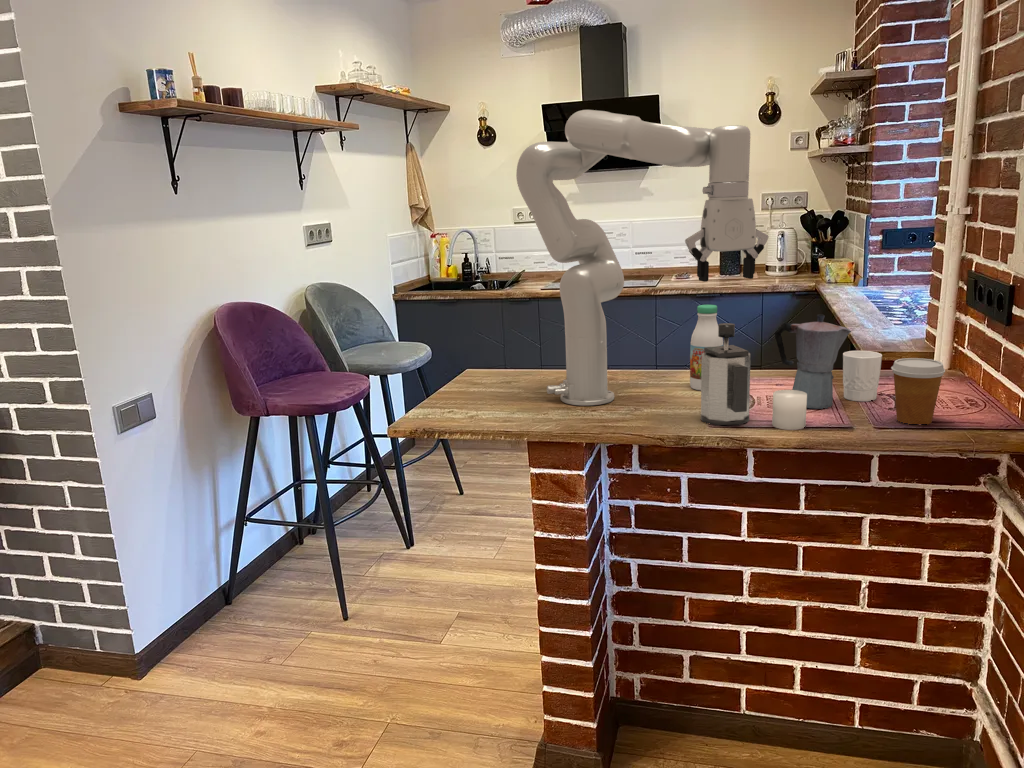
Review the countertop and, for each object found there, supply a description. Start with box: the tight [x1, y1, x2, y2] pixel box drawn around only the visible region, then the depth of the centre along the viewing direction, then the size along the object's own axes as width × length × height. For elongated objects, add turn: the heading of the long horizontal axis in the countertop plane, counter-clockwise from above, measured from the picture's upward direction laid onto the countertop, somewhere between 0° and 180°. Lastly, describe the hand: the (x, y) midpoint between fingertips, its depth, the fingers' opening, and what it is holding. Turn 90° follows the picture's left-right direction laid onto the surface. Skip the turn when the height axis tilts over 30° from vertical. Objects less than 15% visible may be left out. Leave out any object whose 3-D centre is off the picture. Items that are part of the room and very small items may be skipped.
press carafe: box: [700, 344, 752, 426], centre depth 164 cm, size 10×12×15 cm
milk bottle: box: [689, 304, 724, 391], centre depth 191 cm, size 8×8×20 cm
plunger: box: [717, 322, 736, 350], centre depth 164 cm, size 7×7×14 cm
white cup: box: [842, 350, 883, 402], centre depth 177 cm, size 8×8×10 cm
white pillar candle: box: [771, 389, 807, 431], centre depth 160 cm, size 6×6×7 cm
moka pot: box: [774, 313, 852, 410], centre depth 172 cm, size 10×15×20 cm, turn 78°
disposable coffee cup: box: [890, 357, 946, 425], centre depth 158 cm, size 10×10×12 cm
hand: (725, 279), depth 160 cm, fingers open, 9 cm apart
